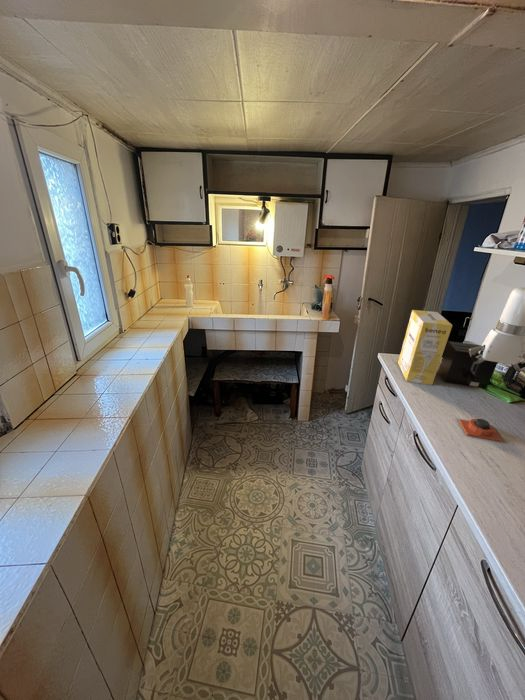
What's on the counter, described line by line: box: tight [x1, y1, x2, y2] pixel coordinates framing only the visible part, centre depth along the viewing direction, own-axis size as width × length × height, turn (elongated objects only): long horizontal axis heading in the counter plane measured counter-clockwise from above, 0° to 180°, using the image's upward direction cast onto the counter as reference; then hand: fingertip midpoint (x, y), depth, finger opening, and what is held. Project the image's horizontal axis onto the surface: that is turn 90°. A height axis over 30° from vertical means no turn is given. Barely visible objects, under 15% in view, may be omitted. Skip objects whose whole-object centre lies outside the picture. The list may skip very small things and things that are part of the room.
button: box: [475, 418, 491, 430], centre depth 94 cm, size 4×4×2 cm
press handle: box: [465, 375, 479, 388], centre depth 117 cm, size 3×6×2 cm, turn 164°
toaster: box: [437, 340, 499, 389], centre depth 124 cm, size 16×11×16 cm
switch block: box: [458, 418, 503, 443], centre depth 94 cm, size 10×8×3 cm
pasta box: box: [397, 309, 453, 386], centre depth 125 cm, size 18×10×28 cm, turn 167°
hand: (490, 376), depth 94 cm, fingers open, 9 cm apart
